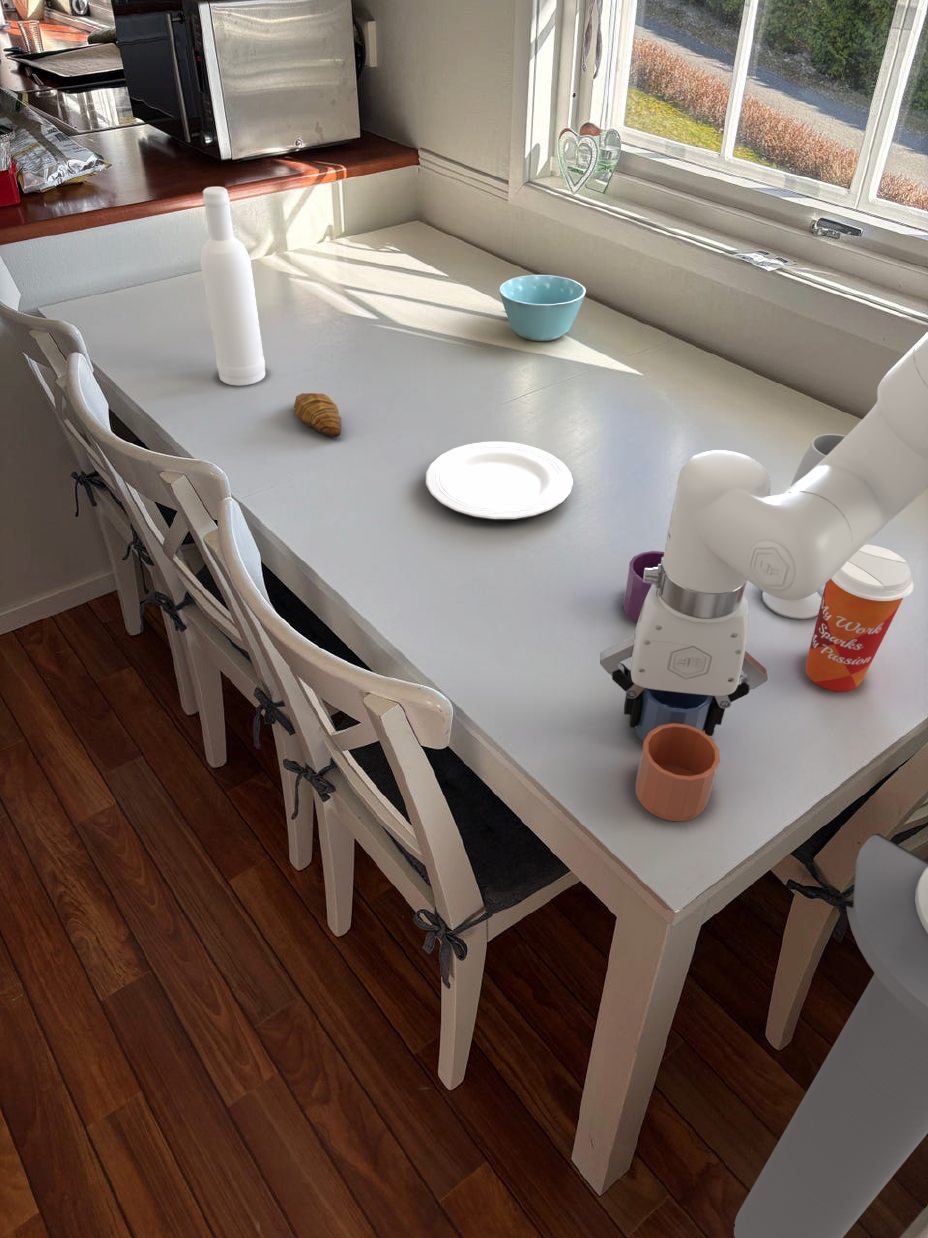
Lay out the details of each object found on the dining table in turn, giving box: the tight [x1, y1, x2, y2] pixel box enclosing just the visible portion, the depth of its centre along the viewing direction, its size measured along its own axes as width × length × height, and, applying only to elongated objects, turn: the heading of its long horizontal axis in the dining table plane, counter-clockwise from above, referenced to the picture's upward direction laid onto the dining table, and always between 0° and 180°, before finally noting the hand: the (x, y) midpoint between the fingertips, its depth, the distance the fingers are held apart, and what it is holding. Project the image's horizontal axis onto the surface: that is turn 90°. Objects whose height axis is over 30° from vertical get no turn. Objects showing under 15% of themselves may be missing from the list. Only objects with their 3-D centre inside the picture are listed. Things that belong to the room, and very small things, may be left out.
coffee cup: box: [805, 543, 915, 693], centre depth 97 cm, size 8×8×15 cm
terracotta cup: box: [634, 723, 721, 822], centre depth 87 cm, size 7×7×6 cm
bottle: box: [199, 186, 266, 387], centre depth 148 cm, size 8×8×30 cm
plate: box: [425, 441, 574, 521], centre depth 130 cm, size 21×21×2 cm
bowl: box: [498, 274, 587, 342], centre depth 171 cm, size 16×16×8 cm
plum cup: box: [622, 550, 664, 624], centre depth 109 cm, size 7×7×6 cm
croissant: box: [293, 392, 342, 438], centre depth 144 cm, size 14×7×5 cm, turn 32°
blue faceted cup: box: [635, 688, 713, 743], centre depth 93 cm, size 7×7×6 cm
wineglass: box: [761, 433, 847, 620], centre depth 105 cm, size 8×8×21 cm
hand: (670, 721), depth 95 cm, fingers closed on blue faceted cup, 7 cm apart
